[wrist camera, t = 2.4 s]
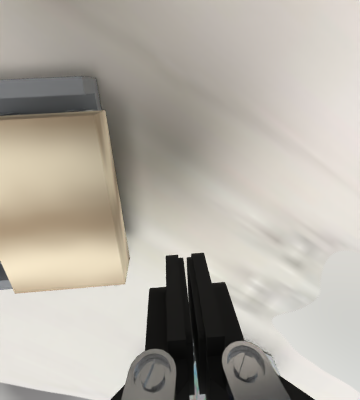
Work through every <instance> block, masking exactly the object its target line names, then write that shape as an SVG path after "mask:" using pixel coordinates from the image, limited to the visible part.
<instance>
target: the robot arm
mask: <svg viewBox="0 0 360 400" xmlns="http://www.w3.org/2000/svg"><path fill="white" fill-rule="evenodd" d="M187 275H188V294H187V286H186V277H185V269H184V261H183V258H178V255H169V256H166V287H159V288H150V290H149V302H148V316H147V330H146V345H145V351H144V352H142V353H141V354H140V355H138V356H137V357H136V358H135V360H134V361H133V362H132V364H131V367H130V369H129V372H128V376H127V379H126V383H125V385H124V386H123V387H122V388H121V389H120V390H119V391H118V392H117V393H116V394H115V396H114V397H113V398H112V399H111V400H190V396H192V395H195V386H194V356H193V345H194V354H195V362H196V370H197V378H198V387H199V394H200V395H201V394H205V396H206V400H314V399H313V398H312V397H310V396H309V395H307V394H306V393H304V392H303V391H301V390H300V389H298V388H297V387H295V386H294V385H293V384H291V383H290V382H288V381H287V380H285V379H284V378H282V377H281V376H279V375H278V374H276V372H275V370H274V368H273V366H272V365H271V363H270V361H269V359H268V357H267V356H266V355H265V353H264V352H263V351H262V350H261V349H260V348H259V347H258V346H256V345H254V344H252V343H250V342H246V341H244V338H243V335H242V332H241V329H240V326H239V323H238V320H237V317H236V314H235V311H234V307H233V304H232V301H231V298H230V295H229V292H228V289H227V286H226V284H225V282H221V283H211V279H210V275H209V271H208V267H207V263H206V259H205V256H204V253H195V254H191V257H187ZM188 299H189V302H188Z"/></svg>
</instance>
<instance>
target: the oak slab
mask: <svg viewBox="0 0 360 400" xmlns="http://www.w3.org/2000/svg"><path fill="white" fill-rule="evenodd" d="M129 260H130V257H129V251H128V245H127V239H126V233H125V227H124V221H123V215H122V209H121V203H120V197H119V191H118V185H117V179H116V172H115V166H114V160H113V154H112V148H111V142H110V136H109V130H108V124H107V118H106V112H105V110H101V111H82V112H63V113H44V114H25V115H5V116H0V261H1V264H2V266H3V268H4V270H5V272H6V275H7V277H8V279H9V281H10V283H11V286H12V288H13V290H14V292H15V294H16V293H28V292H39V291H51V290H63V289H74V288H86V287H98V286H109V285H121V284H125V282H126V276H127V271H128V265H129Z"/></svg>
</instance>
